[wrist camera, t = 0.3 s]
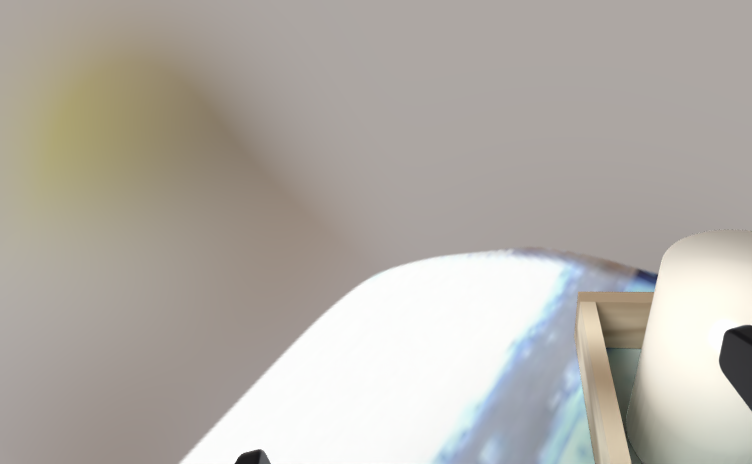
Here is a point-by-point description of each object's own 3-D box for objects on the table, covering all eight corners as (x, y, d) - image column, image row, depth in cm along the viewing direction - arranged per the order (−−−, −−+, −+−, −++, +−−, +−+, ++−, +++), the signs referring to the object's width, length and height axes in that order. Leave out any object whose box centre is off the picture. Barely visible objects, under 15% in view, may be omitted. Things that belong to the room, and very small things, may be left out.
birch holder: (868, 557, 18) (917, 514, 16) (604, 522, 21) (614, 481, 19) (753, 341, 27) (774, 292, 24) (574, 336, 29) (578, 291, 27)
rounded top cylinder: (794, 510, 20) (920, 350, 14) (640, 493, 22) (687, 342, 15) (725, 359, 26) (789, 198, 20) (608, 354, 28) (633, 205, 21)
